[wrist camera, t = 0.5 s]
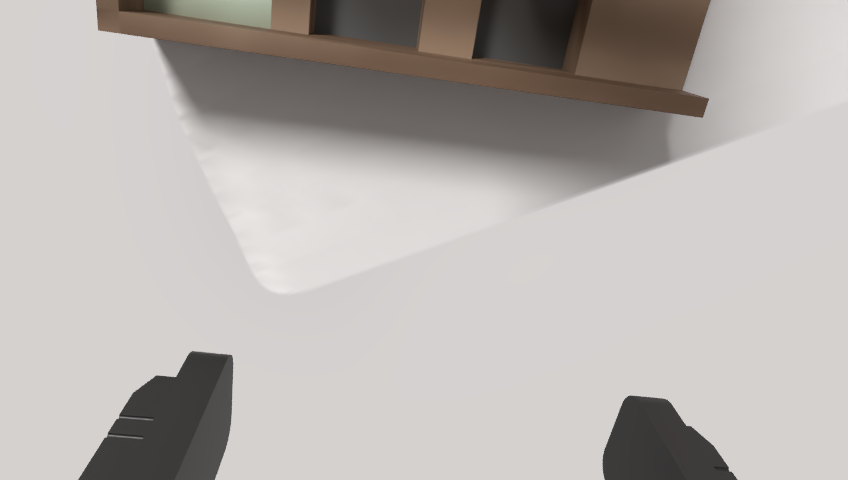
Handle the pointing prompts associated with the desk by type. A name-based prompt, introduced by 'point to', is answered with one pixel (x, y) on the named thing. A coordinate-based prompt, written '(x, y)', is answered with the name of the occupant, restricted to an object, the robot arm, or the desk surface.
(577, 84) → the trap track
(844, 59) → the desk surface
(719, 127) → the desk surface
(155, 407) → the robot arm
